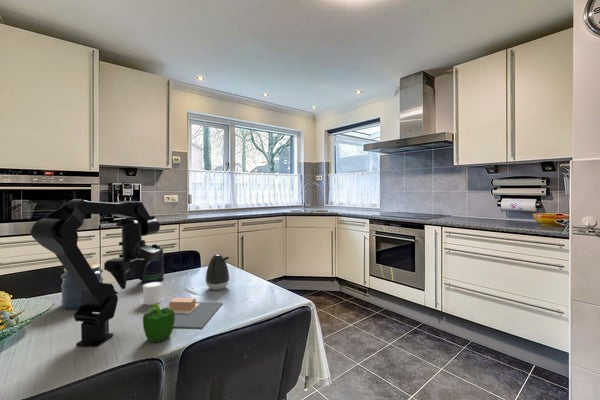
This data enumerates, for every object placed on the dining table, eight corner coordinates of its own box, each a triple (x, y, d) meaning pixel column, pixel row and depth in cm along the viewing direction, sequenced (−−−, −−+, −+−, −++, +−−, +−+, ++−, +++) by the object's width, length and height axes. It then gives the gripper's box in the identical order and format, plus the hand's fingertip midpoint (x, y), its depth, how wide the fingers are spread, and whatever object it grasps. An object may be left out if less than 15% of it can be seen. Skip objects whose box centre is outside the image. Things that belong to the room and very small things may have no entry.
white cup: (154, 306, 108) (154, 287, 108) (138, 304, 110) (138, 286, 109) (166, 299, 115) (166, 282, 115) (151, 298, 116) (151, 281, 116)
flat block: (169, 309, 103) (169, 301, 103) (174, 305, 107) (174, 297, 107) (190, 310, 103) (190, 302, 103) (195, 306, 107) (195, 298, 107)
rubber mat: (201, 328, 90) (201, 326, 90) (147, 326, 92) (147, 325, 92) (222, 303, 110) (222, 302, 110) (177, 302, 112) (177, 301, 112)
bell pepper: (179, 337, 85) (179, 304, 85) (150, 349, 79) (149, 313, 79) (167, 328, 91) (166, 297, 90) (139, 338, 84) (138, 305, 84)
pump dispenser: (224, 292, 122) (223, 257, 122) (201, 291, 124) (201, 256, 123) (233, 285, 132) (233, 252, 132) (212, 284, 134) (211, 251, 133)
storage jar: (143, 278, 141) (142, 248, 141) (165, 277, 144) (164, 247, 144) (138, 285, 132) (138, 253, 131) (162, 283, 135) (161, 251, 134)
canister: (94, 294, 120) (93, 253, 119) (110, 301, 113) (109, 256, 112) (55, 305, 109) (54, 259, 108) (70, 313, 102) (69, 264, 101)
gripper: (137, 243, 86) (138, 294, 87) (169, 234, 105) (170, 276, 106) (102, 243, 87) (103, 293, 88) (140, 234, 106) (141, 275, 106)
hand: (132, 284), depth 97 cm, fingers open, 9 cm apart
